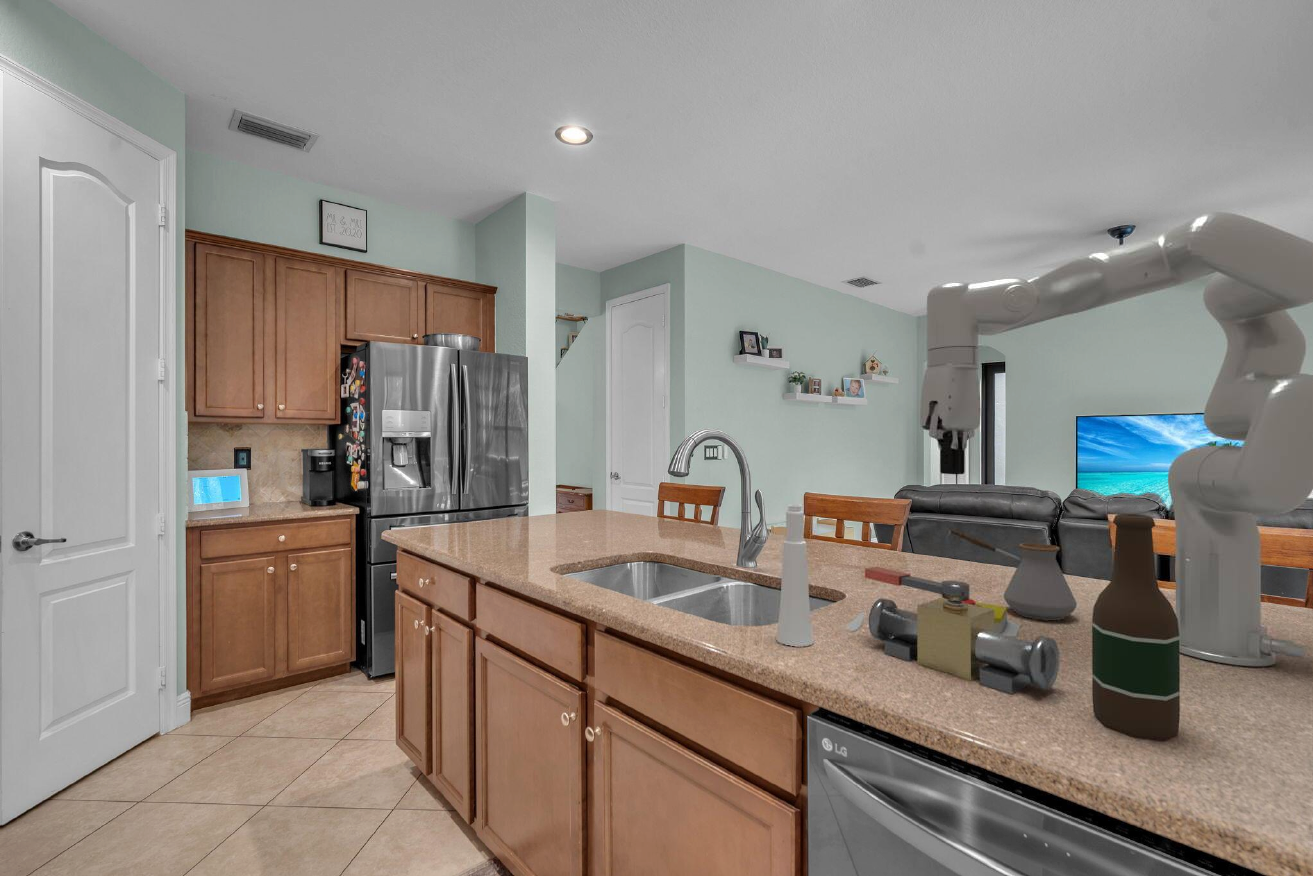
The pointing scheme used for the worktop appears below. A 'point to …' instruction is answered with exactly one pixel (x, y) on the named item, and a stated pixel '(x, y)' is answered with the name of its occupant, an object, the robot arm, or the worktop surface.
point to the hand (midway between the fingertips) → (952, 473)
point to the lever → (920, 583)
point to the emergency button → (999, 619)
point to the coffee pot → (1035, 581)
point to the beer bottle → (1135, 641)
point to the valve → (964, 644)
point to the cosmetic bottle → (794, 585)
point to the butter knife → (856, 622)
